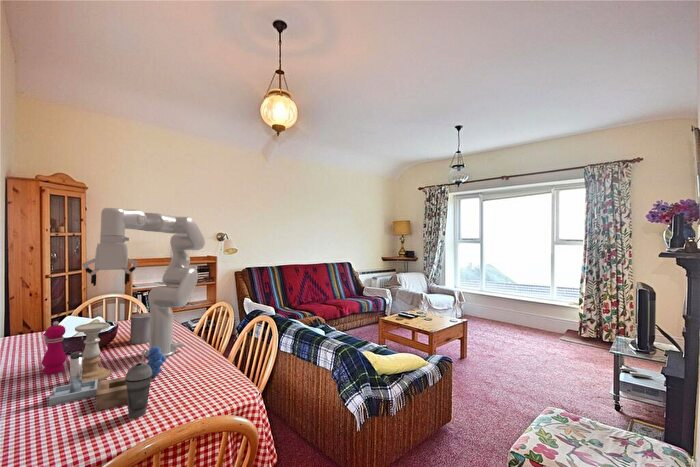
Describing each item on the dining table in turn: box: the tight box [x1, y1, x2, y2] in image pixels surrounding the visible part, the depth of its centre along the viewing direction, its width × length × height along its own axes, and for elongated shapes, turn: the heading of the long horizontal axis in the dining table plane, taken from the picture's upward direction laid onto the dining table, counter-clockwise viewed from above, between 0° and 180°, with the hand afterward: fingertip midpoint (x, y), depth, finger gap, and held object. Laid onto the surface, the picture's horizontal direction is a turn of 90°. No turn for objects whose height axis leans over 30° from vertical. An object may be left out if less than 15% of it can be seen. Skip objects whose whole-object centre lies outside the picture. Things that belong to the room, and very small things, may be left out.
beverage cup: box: [125, 348, 153, 419], centre depth 99 cm, size 7×7×20 cm
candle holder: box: [68, 321, 111, 383], centre depth 123 cm, size 12×12×20 cm
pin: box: [69, 350, 84, 393], centre depth 109 cm, size 3×3×14 cm
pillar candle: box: [129, 312, 150, 345], centre depth 166 cm, size 10×10×15 cm
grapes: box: [146, 347, 167, 378], centre depth 127 cm, size 12×7×12 cm, turn 49°
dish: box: [48, 379, 98, 407], centre depth 109 cm, size 12×9×2 cm
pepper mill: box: [41, 320, 67, 376], centre depth 128 cm, size 7×7×20 cm
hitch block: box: [95, 376, 128, 412], centre depth 108 cm, size 11×11×5 cm
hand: (110, 284), depth 122 cm, fingers open, 9 cm apart
